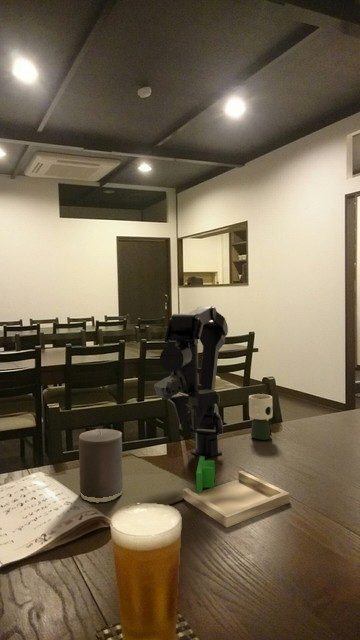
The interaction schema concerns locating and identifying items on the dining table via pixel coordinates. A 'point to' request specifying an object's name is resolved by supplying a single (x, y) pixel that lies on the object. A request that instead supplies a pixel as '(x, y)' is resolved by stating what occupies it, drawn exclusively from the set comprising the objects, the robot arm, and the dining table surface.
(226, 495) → the corral
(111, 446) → the pillar candle
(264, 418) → the character mug
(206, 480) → the pipe clamp
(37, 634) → the dining table surface
